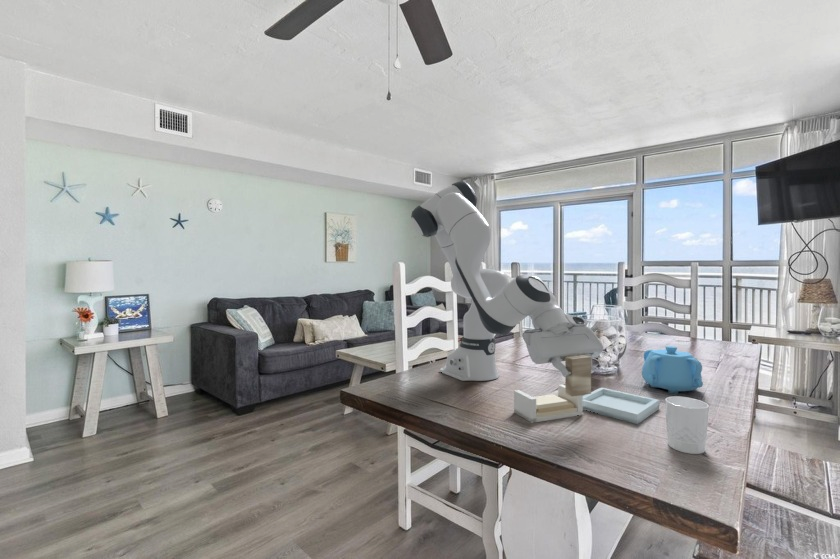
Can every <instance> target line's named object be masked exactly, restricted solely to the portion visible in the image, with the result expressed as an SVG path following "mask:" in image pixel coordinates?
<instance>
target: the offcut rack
mask: <svg viewBox="0 0 840 559" xmlns="http://www.w3.org/2000/svg"><path fill="white" fill-rule="evenodd" d="M557 385H558V386H557V387H558V389H557V390H558V391H557V392H558V393H557V395H555V394H545V395H538V396H531V395H530V394H528V393H526V392H524V391H522V390H519V389H515V390H513V412H514V414H516V415H518V416H520V418H521V417H522V418H523V419H524V420H526V421H527V422H529V423H531V424H534V423H538V422H540V423H541V422H545V421H546V422H547V421H551V420H559V419H565V418H572V417H578V416H577V415H579V416H583V411H584V410H583V396H584V395H580V396H573V397H572V396H570V395H568V394H566V390H565V384H557Z"/></svg>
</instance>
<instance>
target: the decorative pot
mask: <svg viewBox="0 0 840 559" xmlns="http://www.w3.org/2000/svg"><path fill="white" fill-rule="evenodd" d="M643 360H644V363H643V365H642V371H641V376H642V379H643V380H644V381H645V383H646V384H648V385H650V387H651V388H656V389H657V388H659V389H663V390H668V393H671V394H679V392H692V391H695V390H697V389H698V388H702V387H703V385H704V383H703V377H702V371H703V365H702V363H701V362H700V360H699V359H697V358H695V357H694V355H693V354H692V353H690V352H687V351H679V350H678V347H676V346H672V345H666V346H665V349H655V350H654V349H648V350H647V349H646V351H644V353H643Z"/></svg>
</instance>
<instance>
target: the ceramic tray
mask: <svg viewBox="0 0 840 559" xmlns="http://www.w3.org/2000/svg"><path fill="white" fill-rule="evenodd" d="M586 410H587V411H586ZM658 410H660V399H657V398H651V397H647V396H644V395H643V396H642V395H639V394H633V393H629V392H625V391H624V392H623V391H619V390H615V389H611V388H606V387H603V386H602V387H599V388H597V389H595V390H593V391H592V390H591V394H586V395H583V410H582V411H586V412H590V411H591V413H593V412H595V413H594V414H597V413H598V414H597V415H601V416H605V417H608V418H613V419H616V420H619V421H623V422H626V423H628V422H629V423H632V424H635V425H639V424H640V423H641V422H642V421H644V420H645V419H648V417H649V416H651V415H652V414H654V413H656V412H657V411H658Z"/></svg>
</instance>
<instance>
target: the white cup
mask: <svg viewBox="0 0 840 559" xmlns="http://www.w3.org/2000/svg"><path fill="white" fill-rule="evenodd" d="M664 399H665V400H664V402H665V403H664V404H665V424H666V433H667V436H666V437H667V444H668V446H669V447H670V448H672V449H673V450H674V451H678V452H681V453H685V454H689V455H690V454H691V455H701V454H704V453H705V451H706V440H707V435H708V434H707V433H708V425H709V423H708V422H709V409H710V404H708V403H707V402H705V401H702V400H700V399H696V398H692V397H687V396H677V395H676V396H675V395H674V396H668V397H666V398H664Z"/></svg>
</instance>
